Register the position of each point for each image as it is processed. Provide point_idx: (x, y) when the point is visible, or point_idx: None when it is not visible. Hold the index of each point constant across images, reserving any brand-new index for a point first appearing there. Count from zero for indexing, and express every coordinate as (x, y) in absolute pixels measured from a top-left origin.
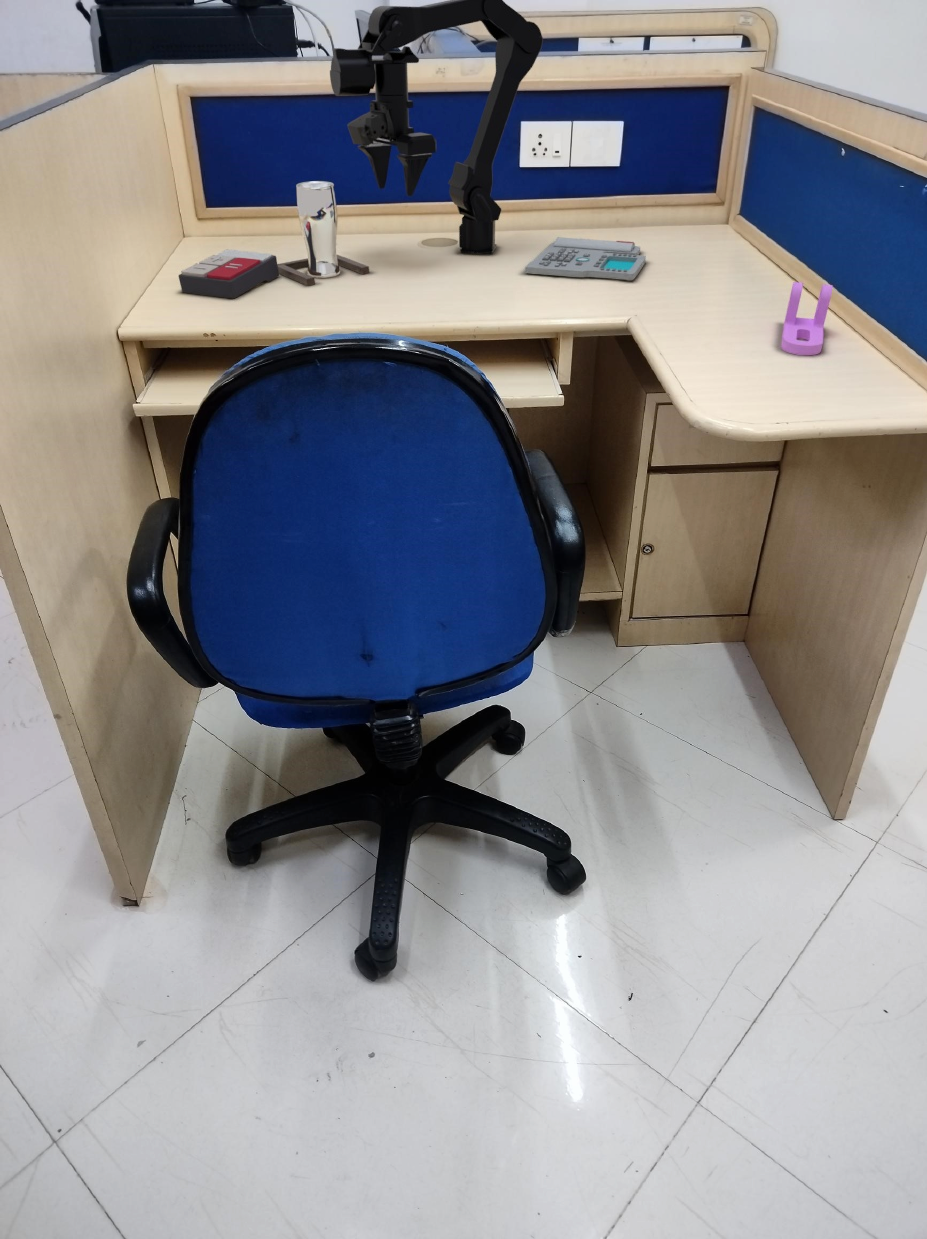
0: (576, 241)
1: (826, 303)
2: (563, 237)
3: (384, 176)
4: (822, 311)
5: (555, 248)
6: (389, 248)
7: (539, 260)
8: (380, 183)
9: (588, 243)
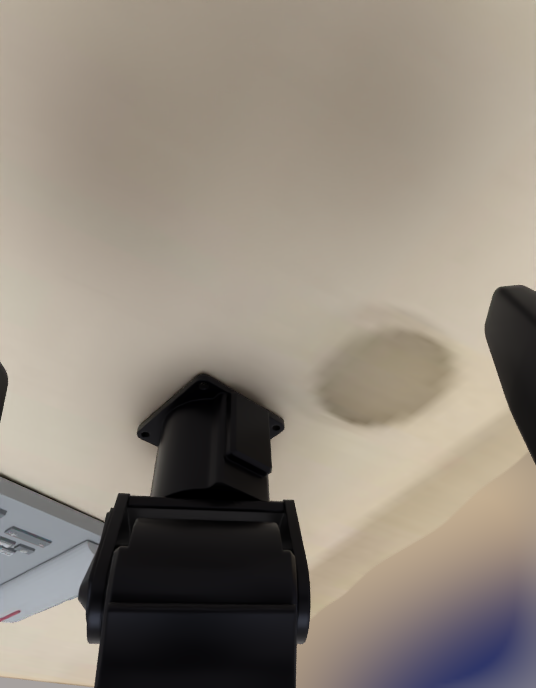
0: (62, 575)
1: None
2: None
3: (532, 418)
4: None
5: (66, 536)
6: (464, 196)
7: None
8: (515, 323)
9: (38, 582)
